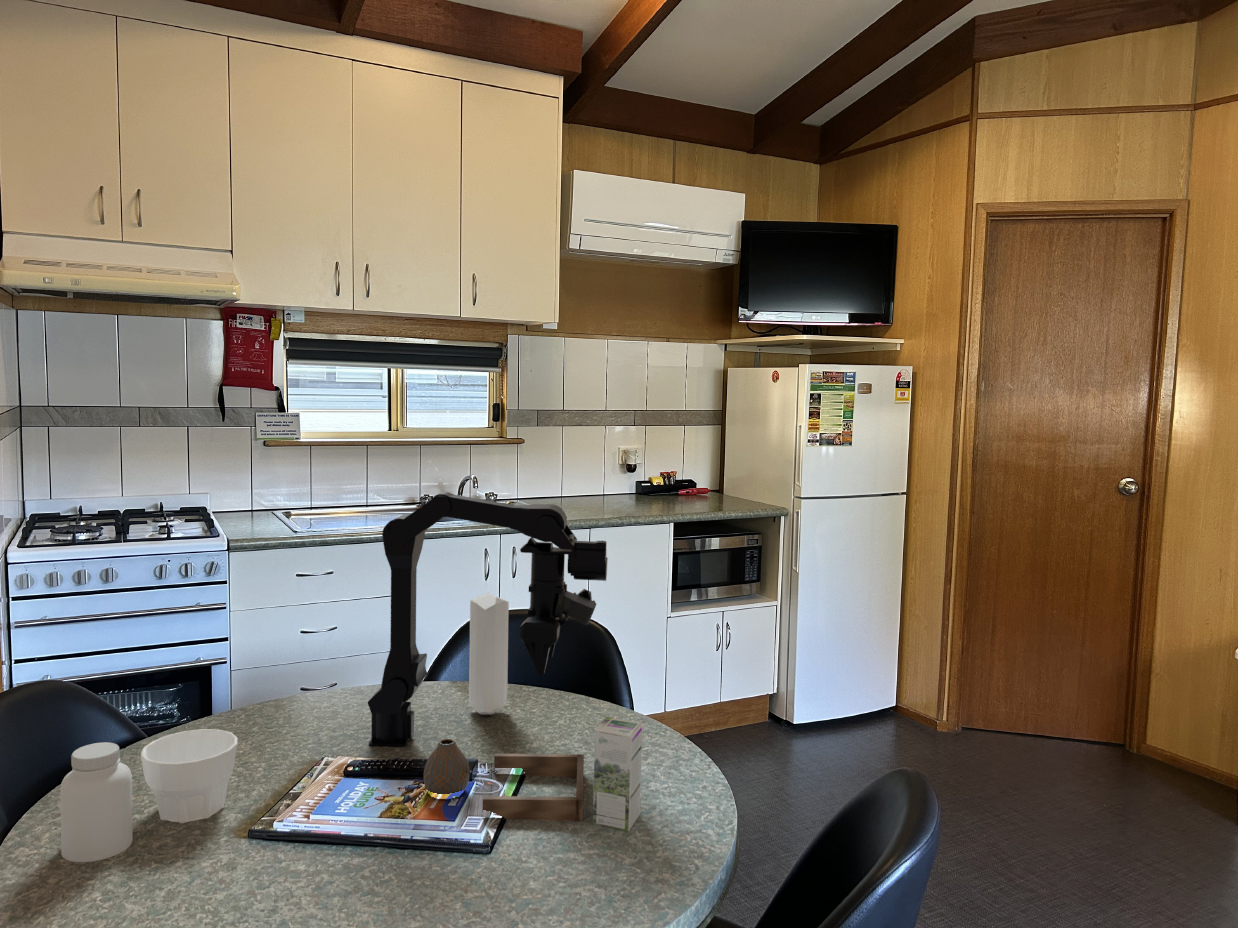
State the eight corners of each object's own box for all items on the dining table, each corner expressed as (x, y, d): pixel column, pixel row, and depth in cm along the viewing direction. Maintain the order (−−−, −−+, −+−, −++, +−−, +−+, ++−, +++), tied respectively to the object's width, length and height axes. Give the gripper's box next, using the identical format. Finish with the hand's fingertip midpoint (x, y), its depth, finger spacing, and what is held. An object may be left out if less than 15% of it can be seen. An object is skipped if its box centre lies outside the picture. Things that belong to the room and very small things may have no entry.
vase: (464, 808, 130) (465, 751, 129) (418, 806, 130) (418, 749, 129) (473, 787, 136) (473, 733, 136) (429, 785, 137) (429, 731, 136)
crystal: (463, 722, 163) (465, 597, 161) (469, 709, 170) (470, 588, 168) (503, 723, 163) (505, 598, 161) (507, 709, 170) (509, 589, 168)
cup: (183, 795, 131) (182, 724, 130) (256, 805, 129) (256, 733, 128) (120, 835, 119) (119, 758, 118) (200, 847, 116) (199, 768, 116)
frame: (482, 822, 125) (482, 798, 125) (494, 774, 141) (494, 753, 141) (582, 823, 126) (582, 800, 125) (583, 775, 142) (583, 754, 141)
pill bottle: (82, 885, 107) (79, 768, 106) (49, 865, 111) (46, 752, 110) (145, 857, 114) (143, 746, 113) (112, 839, 118) (110, 732, 117)
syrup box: (641, 814, 129) (643, 720, 128) (628, 833, 123) (631, 734, 122) (605, 807, 131) (607, 714, 129) (591, 825, 125) (593, 728, 124)
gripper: (588, 592, 140) (585, 686, 141) (598, 569, 158) (595, 653, 159) (520, 589, 140) (517, 683, 141) (538, 566, 159) (535, 649, 160)
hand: (544, 666), depth 151 cm, fingers open, 9 cm apart
